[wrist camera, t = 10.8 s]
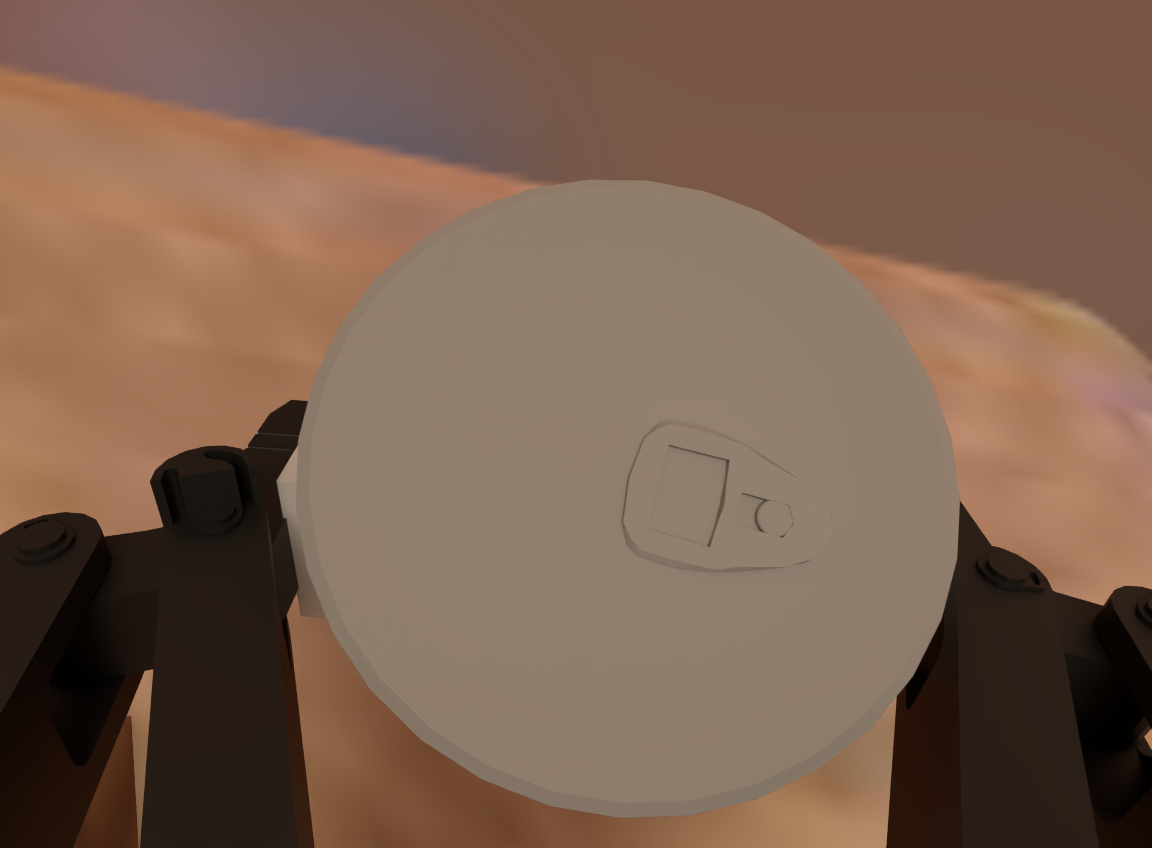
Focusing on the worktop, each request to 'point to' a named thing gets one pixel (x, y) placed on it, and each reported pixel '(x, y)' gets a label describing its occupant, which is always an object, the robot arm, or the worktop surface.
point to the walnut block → (113, 801)
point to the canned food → (627, 498)
